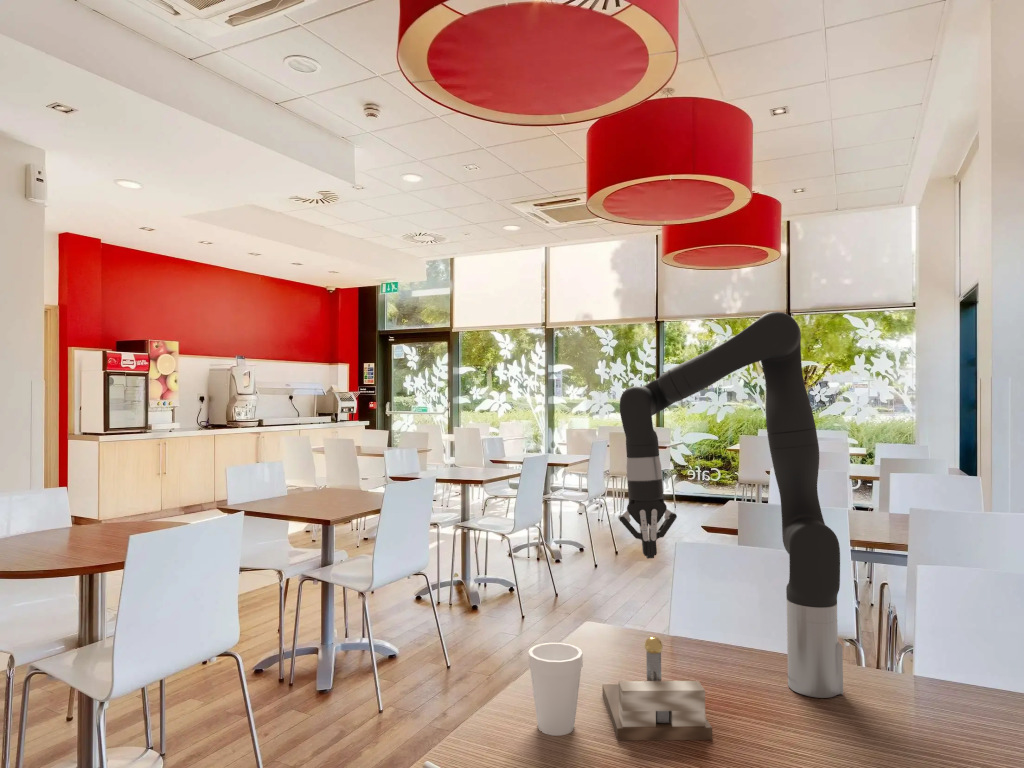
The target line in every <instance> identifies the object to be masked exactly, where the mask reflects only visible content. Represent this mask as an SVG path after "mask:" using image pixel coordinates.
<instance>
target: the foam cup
mask: <svg viewBox="0 0 1024 768" xmlns="http://www.w3.org/2000/svg"><path fill="white" fill-rule="evenodd" d="M583 661H584V659H583V651H582V650H581V648H580V647H578V646H576V645H573V644H569V643H564V642H546V643H539V644H536V645H534V646H532V647H531V648H530V649H529V650H528V667H529V670H530V677H531V686H532V692H533V693H532V694H533V700H534V708H535V714H536V715H535V716H536V722H537V723H536V724H537V728H538V730H539V731H540V732H541V731H542V732H541V733H543V734H546V735H548V736H556V737H557V736H559V737H560V736H565V735H568V734H571V733H572V732H573V731H574V729H575V724H576V714H577V707H578V699H579V689H580V683H581V682H580V681H581V673H582V668H583V663H584V662H583Z"/></svg>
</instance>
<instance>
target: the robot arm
mask: <svg viewBox="0 0 1024 768" xmlns="http://www.w3.org/2000/svg"><path fill="white" fill-rule="evenodd" d="M801 340H802V334H801V328H800V326H799V324H798V322H797V321H796V319H794V318H793V316H791V315H789V314H787V313H785V312H782V311H772V312H771V311H770V312H767V313H765V314H763V315H761V316H760V317H758V319H756V320H755V321H753V322H752V323H751V324H750V325H748V326H747V327H746V328H744V329H743V330H742V331H739V333H737V334H735V335H734V336H733V337H732V336H731V338H730V339H728V340H725V341H724V342H723V343H721V344H719V345H718V346H715V347H714V348H711V349H709V350H707V351H705V352H703V353H700V354H698V355H696V356H694V357H692V358H689V359H688V360H686V361H684V362H682V363H680V364H678V365H676V366H674V367H672V368H670V369H668V370H666V371H664V372H662V374H660V375H659V377H657V378H656V379H655V380H652V381H650V382H648V383H646V384H644V385H642V386H630V387H628V388H626V389H625V390H624V391H623V392H622V393H621V396H620V398H619V413H620V419H621V423H622V428H623V432H624V435H625V450H626V473H625V475H626V481H627V482H626V483H627V494H628V503H627V507H626V511H625V512H623V514H620V515H618V520H619V521H620V523H622V525H623V526H624V527H625V528H626V529H627V531H628V532H629V533H630V534H631V535H632V536H633V537H634V538H635V539H638V540H640V541H641V547H642V549H641V550H642V554H643V555H644V557H646V559H655V556H657V554H658V553H657V550H658V549H657V540H658V539H660V538H665V535H666V534H667V533H668V531H669V529H670V528H671V527H672V525H673V523H674V522H675V521H676V519H677V517H678V516H677V514H676V513H675V512H672V511H671V510H669V509H668V508H667V504H666V503H665V499H664V488H663V486H664V485H663V473H662V471H663V469H662V464H661V460H660V459H661V458H660V447H659V446H660V445H659V437H658V434H657V431H656V430H654V424H653V416H654V415H656V414H658V413H660V412H662V411H664V410H665V409H667V408H668V407H670V406H671V405H673V404H674V403H678V402H680V401H682V400H685V399H687V398H688V397H691V396H693V395H695V394H697V393H699V392H701V391H703V390H704V389H706V388H709V387H710V386H712V385H714V384H715V383H717V382H718V381H720V380H722V379H723V378H725V377H726V376H729V375H731V374H732V373H734V372H736V371H738V370H740V369H743V368H744V367H746V366H747V367H748V366H749V365H751V364H755V363H758V362H760V363H761V367H762V372H763V376H764V381H765V422H766V423H765V424H766V426H765V427H766V432H767V440H768V441H767V442H768V445H769V446H768V447H769V453H770V457H771V462H772V467H773V470H774V476H775V479H776V484H777V487H778V492H779V498H780V509H781V513H780V514H781V530H782V531H781V532H782V533H781V534H782V536H781V537H782V542H783V546H784V549H785V551H786V553H788V555H789V557H788V558H789V576H788V577H789V579H788V583H787V585H786V588H785V589H786V592H785V593H786V596H785V597H786V632H787V633H786V636H787V637H786V642H787V645H786V647H787V650H786V651H787V685H788V687H789V689H790V690H791V691H794V692H795V693H798V694H800V695H802V696H806V697H810V698H811V697H812V698H820V699H824V698H826V699H827V698H834V697H836V696H837V695H844V659H843V657H844V654H843V650H844V649H843V645H842V643H840V642H839V640H838V639H839V637H838V636H839V635H838V634H839V633H838V627H839V625H838V594H839V591H840V586H841V549H840V547H841V546H840V543H839V539H838V536H837V535H836V533H835V532H834V531H833V529H831V528H830V527H829V526H828V525H826V523H825V521H824V516H823V514H822V513H823V512H822V509H821V505H820V504H821V503H820V500H819V493H818V480H819V479H818V478H819V469H820V447H819V445H820V444H819V440H818V434H817V433H818V432H817V427H816V426H817V425H816V422H815V416H814V413H813V409H812V405H811V401H810V398H809V395H808V391H807V389H806V385H805V381H804V376H803V375H804V374H803V367H802V350H801V348H802V347H801V346H802V345H801ZM631 518H632V519H633V520H634V521H635V522H636V523H637V524H638V525H639V531H640V532H638V531H637V530H636V529H635V527H634V526H633V525H632V523H630V522H631V521H632V520H631ZM662 518H664V521H663V522H662V524H661V525H660V527H659V528H658V524H659V522H660V521H661V519H662Z"/></svg>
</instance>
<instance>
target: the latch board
mask: <svg viewBox="0 0 1024 768" xmlns="http://www.w3.org/2000/svg"><path fill="white" fill-rule="evenodd" d="M601 687H602V688H601V689H602V697H603V700H604V703H605V706H606V710H607V713H608V716H609V719H610V722H611V726H612V727H613V730H614V734H615V737H616V740H617V741H697V740H698V741H701V740H702V741H709V740H710V741H711V740H712V741H713V727H712V725H711V724H710V722H709V720H708V719H707V717H706V690H705V688H704V687H703V685H702V684H701V682H700V681H699V680H661V681H647V680H640V681H639V680H637V681H636V680H632V681H631V680H628V681H627V680H625V681H623V680H622V681H621V680H620V681H618V683H615V684H614V683H613V684H612V683H611V684H610V683H608V684H606V683H605V684H602V686H601ZM656 711H669V723H657V721H656Z"/></svg>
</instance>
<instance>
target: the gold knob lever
mask: <svg viewBox="0 0 1024 768" xmlns="http://www.w3.org/2000/svg"><path fill="white" fill-rule="evenodd" d="M663 646H664V645H663V642H662V640H661V639H660V638H659V637H657V636H649V637H647V639H646V640H645V642H644V649H645V653H646V654H645V655H646V681H662V651H663V648H664V647H663ZM656 721H657V723H669V711H656Z"/></svg>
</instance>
